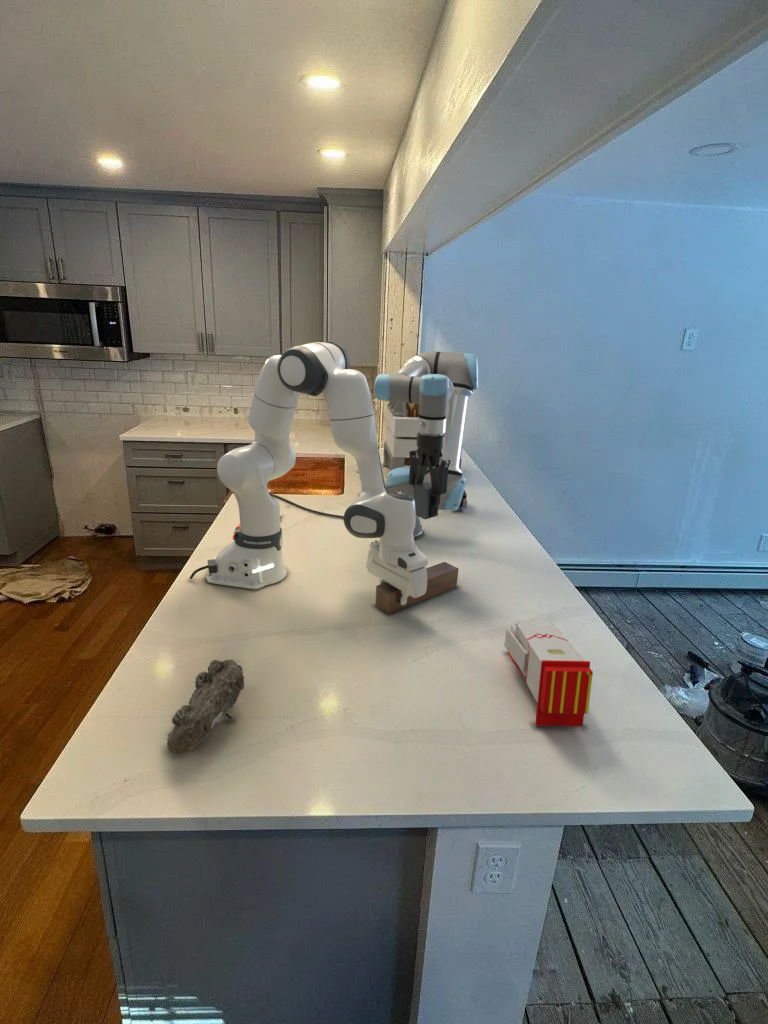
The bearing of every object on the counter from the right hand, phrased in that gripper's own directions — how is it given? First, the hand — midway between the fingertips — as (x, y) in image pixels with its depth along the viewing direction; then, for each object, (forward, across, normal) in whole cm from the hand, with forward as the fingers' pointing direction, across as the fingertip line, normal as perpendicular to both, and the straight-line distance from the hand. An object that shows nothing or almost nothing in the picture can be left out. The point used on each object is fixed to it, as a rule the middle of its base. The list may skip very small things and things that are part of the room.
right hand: (425, 512), depth 162 cm
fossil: (+18, +18, -76) cm, 80 cm away
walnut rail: (+20, +8, -10) cm, 24 cm away
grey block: (+1, 0, 0) cm, 1 cm away
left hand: (+17, +8, -19) cm, 27 cm away
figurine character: (+22, -34, +56) cm, 69 cm away
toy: (+19, +52, -18) cm, 58 cm away
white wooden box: (+23, -78, +80) cm, 114 cm away
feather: (+21, -64, -8) cm, 68 cm away
